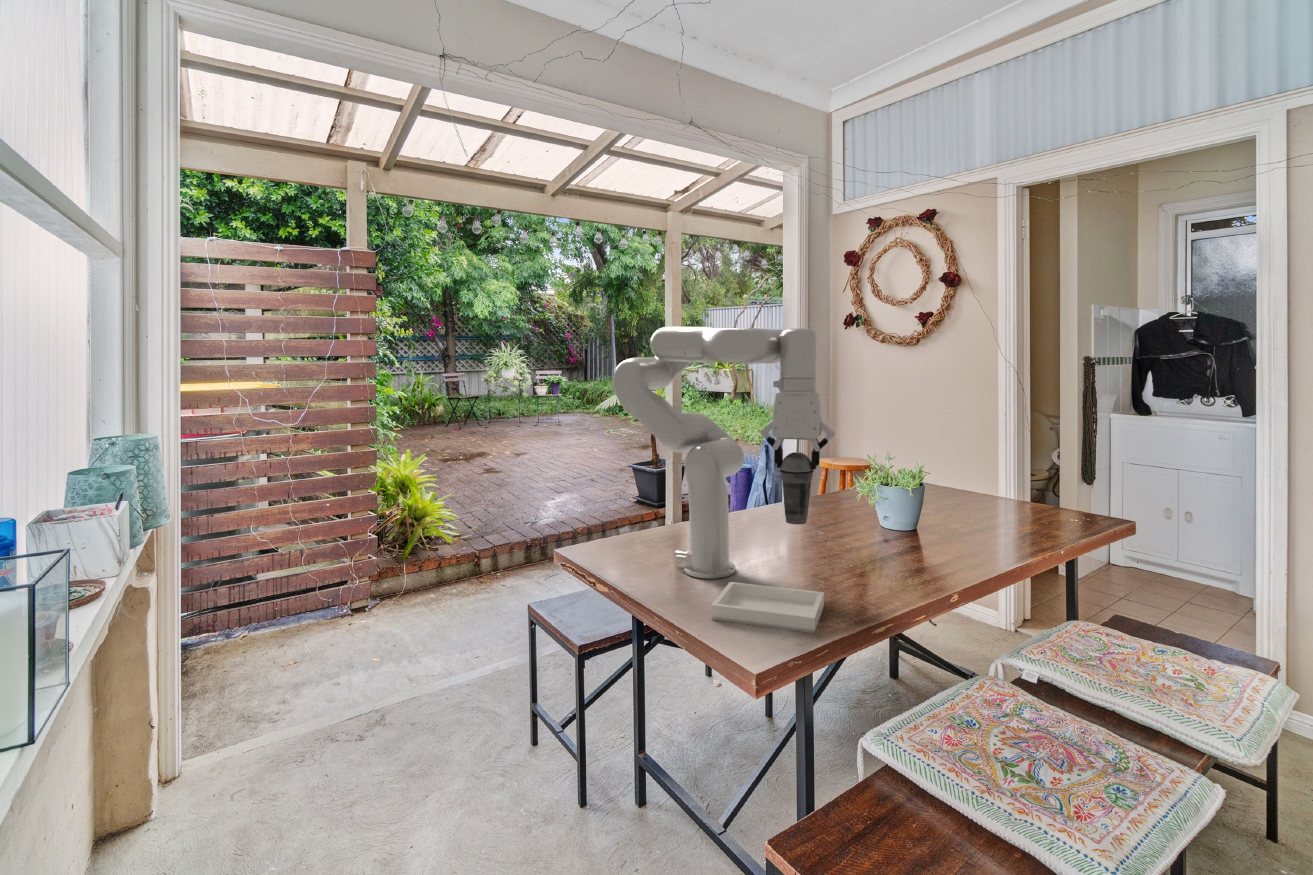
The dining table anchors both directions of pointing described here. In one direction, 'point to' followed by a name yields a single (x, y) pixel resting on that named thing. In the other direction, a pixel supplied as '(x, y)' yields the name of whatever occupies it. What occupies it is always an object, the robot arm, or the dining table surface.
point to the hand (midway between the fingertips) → (796, 467)
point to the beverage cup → (796, 486)
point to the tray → (769, 606)
